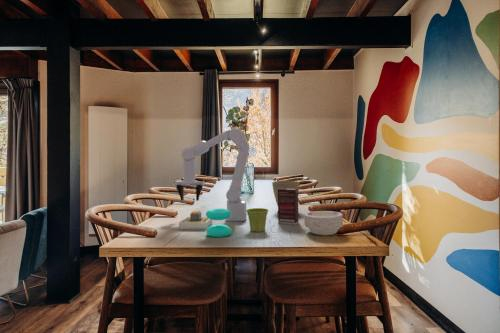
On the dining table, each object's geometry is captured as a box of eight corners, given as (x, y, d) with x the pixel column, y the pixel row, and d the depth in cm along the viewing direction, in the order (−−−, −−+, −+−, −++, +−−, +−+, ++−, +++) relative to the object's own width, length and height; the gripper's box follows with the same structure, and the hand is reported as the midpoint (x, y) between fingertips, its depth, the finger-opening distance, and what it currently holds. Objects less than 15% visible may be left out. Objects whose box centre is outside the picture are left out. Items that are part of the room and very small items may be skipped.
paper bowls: (301, 229, 149) (300, 210, 149) (336, 228, 150) (336, 209, 149) (309, 238, 134) (309, 217, 133) (348, 237, 135) (348, 216, 134)
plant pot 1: (253, 234, 141) (252, 212, 141) (242, 229, 149) (242, 209, 149) (272, 231, 145) (272, 210, 145) (261, 227, 154) (261, 207, 153)
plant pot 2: (281, 207, 202) (281, 180, 202) (304, 210, 194) (304, 181, 193) (267, 211, 190) (266, 182, 189) (291, 214, 182) (291, 184, 181)
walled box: (212, 223, 162) (211, 217, 161) (206, 229, 150) (206, 222, 149) (186, 223, 163) (186, 217, 163) (178, 229, 151) (178, 222, 151)
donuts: (212, 207, 147) (234, 208, 143) (213, 231, 147) (235, 232, 144) (201, 211, 138) (224, 212, 134) (201, 236, 138) (225, 238, 135)
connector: (201, 223, 158) (201, 210, 158) (199, 225, 154) (199, 212, 154) (192, 223, 159) (192, 210, 158) (190, 225, 155) (190, 212, 154)
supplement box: (298, 222, 161) (298, 188, 161) (295, 225, 157) (295, 189, 156) (281, 221, 165) (280, 187, 164) (277, 223, 161) (277, 189, 160)
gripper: (172, 173, 168) (172, 201, 169) (201, 173, 167) (202, 201, 168) (176, 172, 175) (177, 199, 176) (205, 172, 174) (205, 199, 175)
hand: (189, 200), depth 172 cm, fingers open, 7 cm apart
